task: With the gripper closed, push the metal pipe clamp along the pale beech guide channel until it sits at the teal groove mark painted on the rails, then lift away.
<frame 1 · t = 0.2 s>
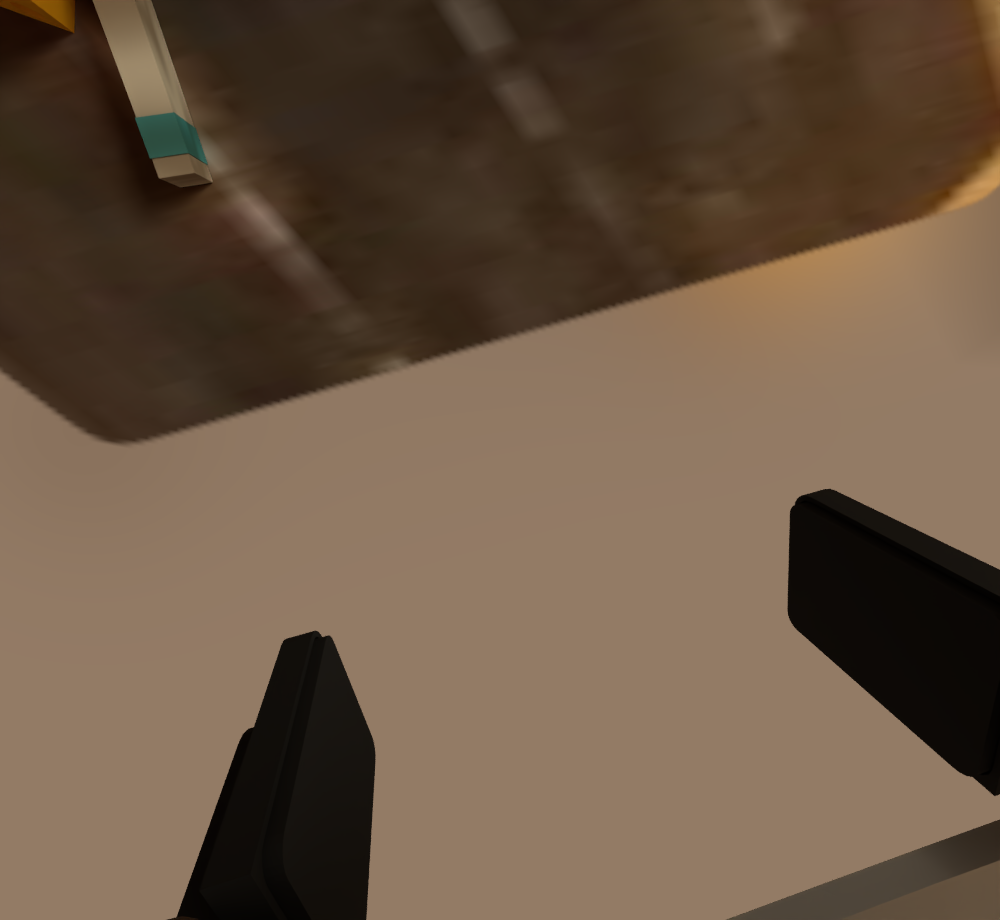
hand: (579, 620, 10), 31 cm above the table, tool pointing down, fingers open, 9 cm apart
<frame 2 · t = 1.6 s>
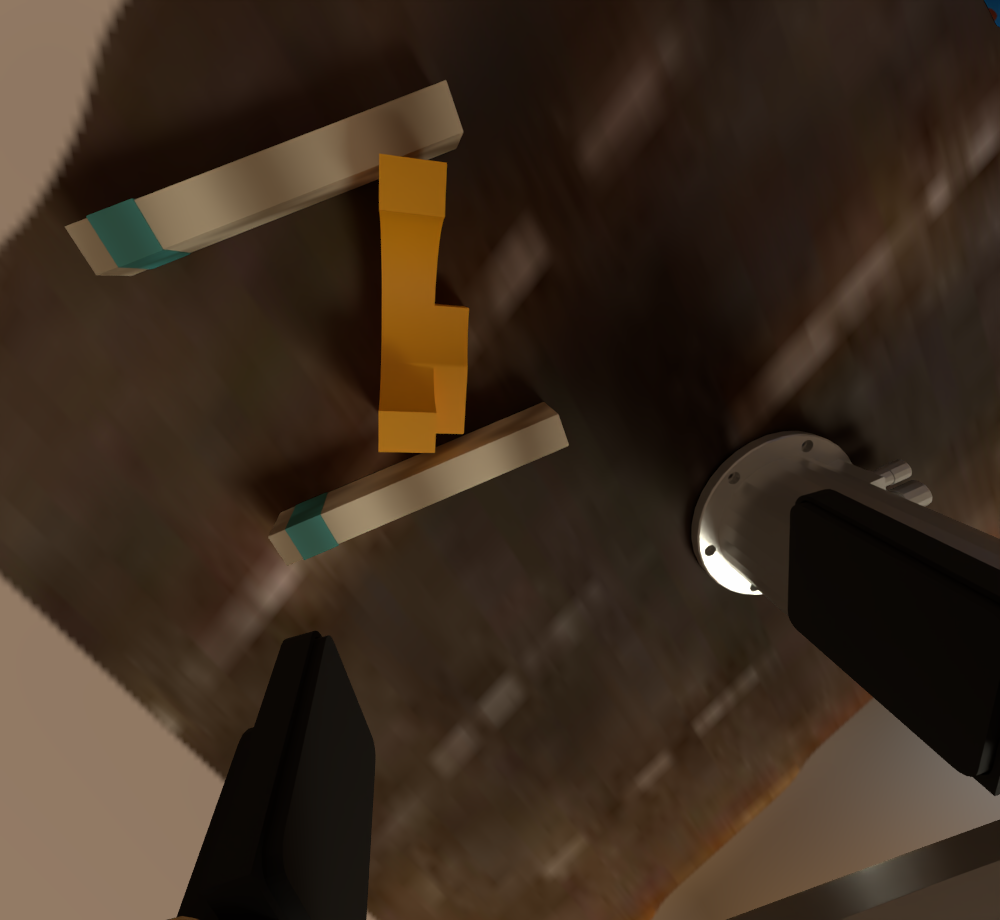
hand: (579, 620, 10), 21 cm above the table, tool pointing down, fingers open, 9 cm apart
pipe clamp: (423, 311, 27), on the table
channel: (360, 345, 27), on the table
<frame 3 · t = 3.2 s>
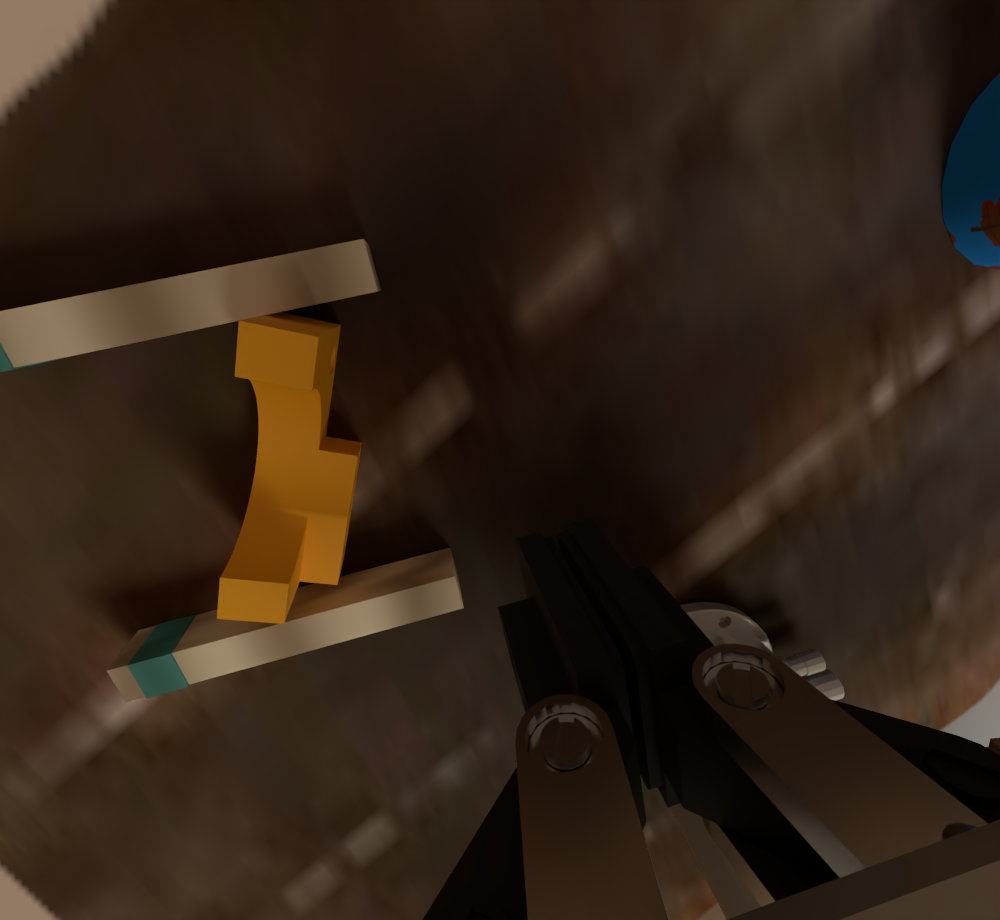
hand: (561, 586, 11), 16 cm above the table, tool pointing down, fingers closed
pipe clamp: (317, 441, 25), on the table
channel: (251, 471, 25), on the table
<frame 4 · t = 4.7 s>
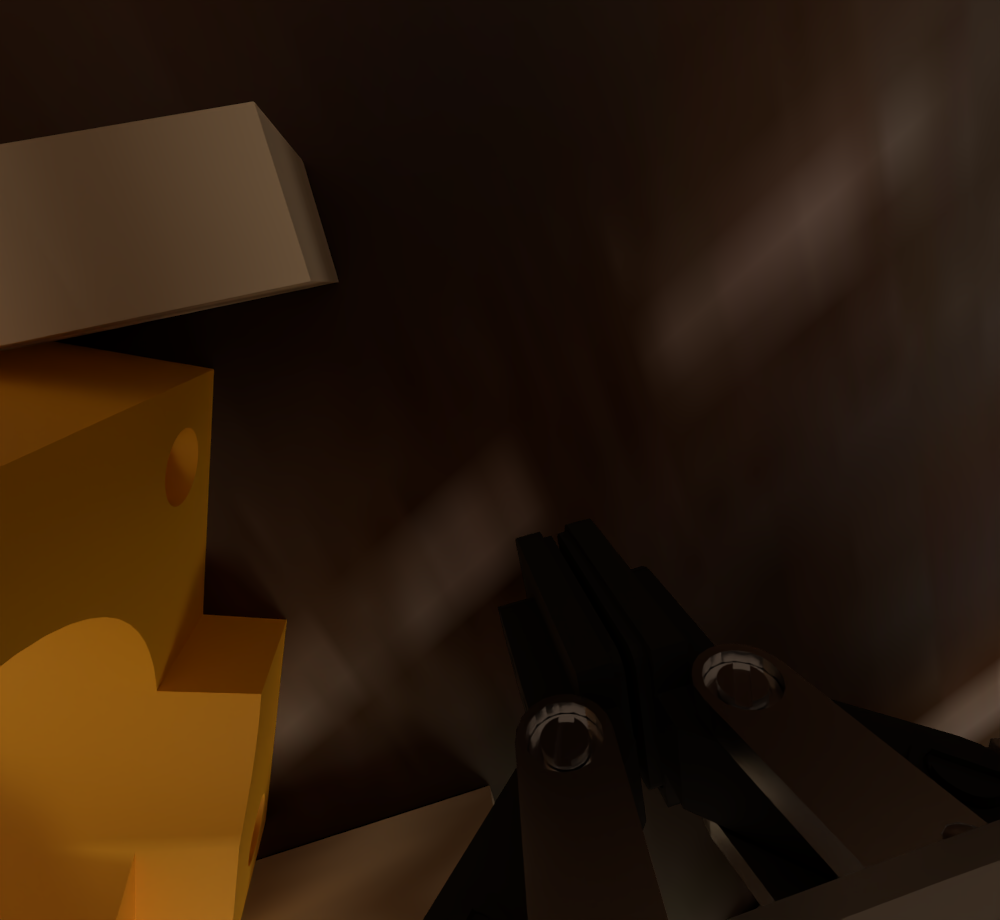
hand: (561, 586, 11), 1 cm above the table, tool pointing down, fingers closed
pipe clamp: (188, 619, 11), on the table
channel: (54, 692, 11), on the table
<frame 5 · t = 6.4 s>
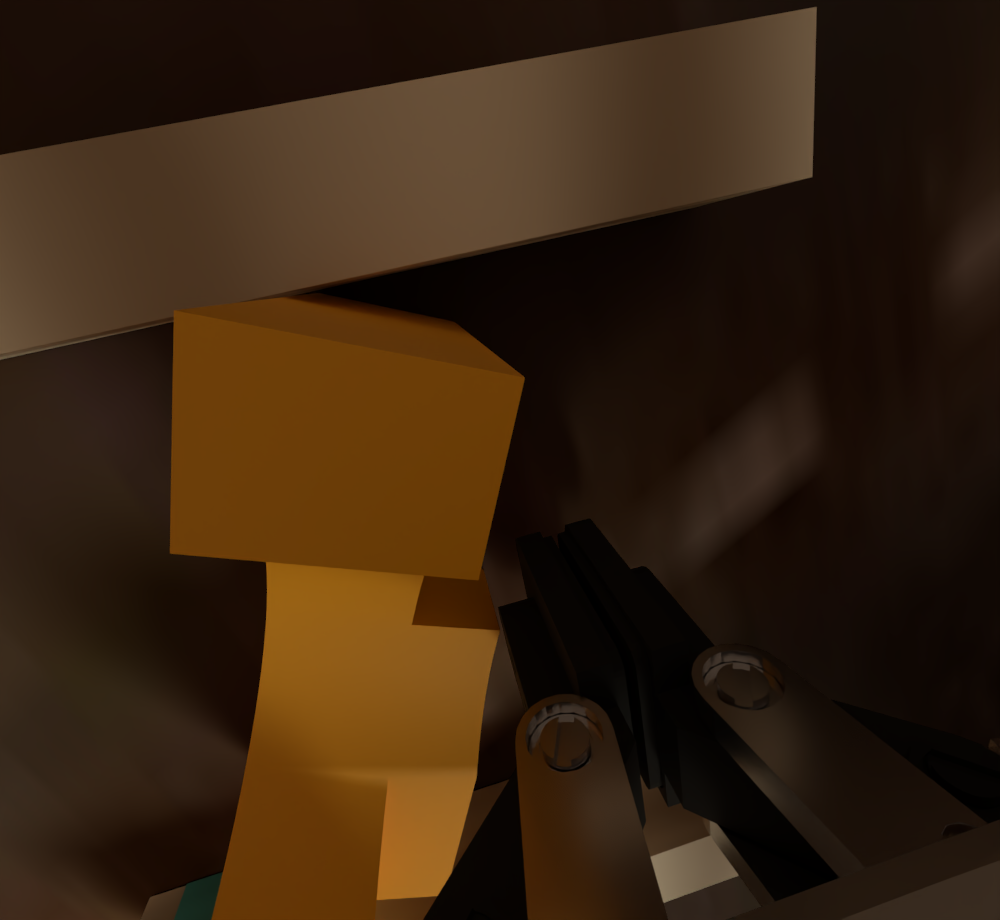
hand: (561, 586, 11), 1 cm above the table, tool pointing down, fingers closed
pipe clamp: (389, 569, 12), on the table
channel: (384, 602, 12), on the table
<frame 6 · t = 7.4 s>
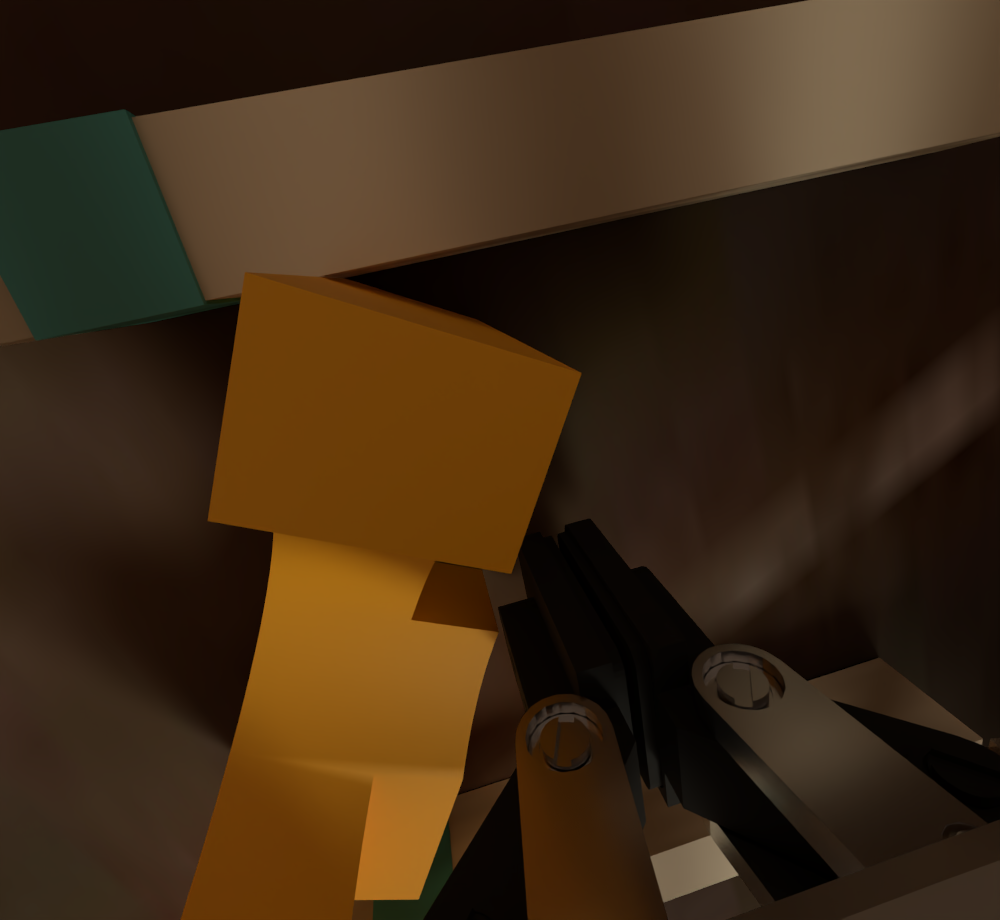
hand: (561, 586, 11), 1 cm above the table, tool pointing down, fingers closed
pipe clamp: (387, 563, 12), on the table, touching gripper
channel: (597, 540, 12), on the table
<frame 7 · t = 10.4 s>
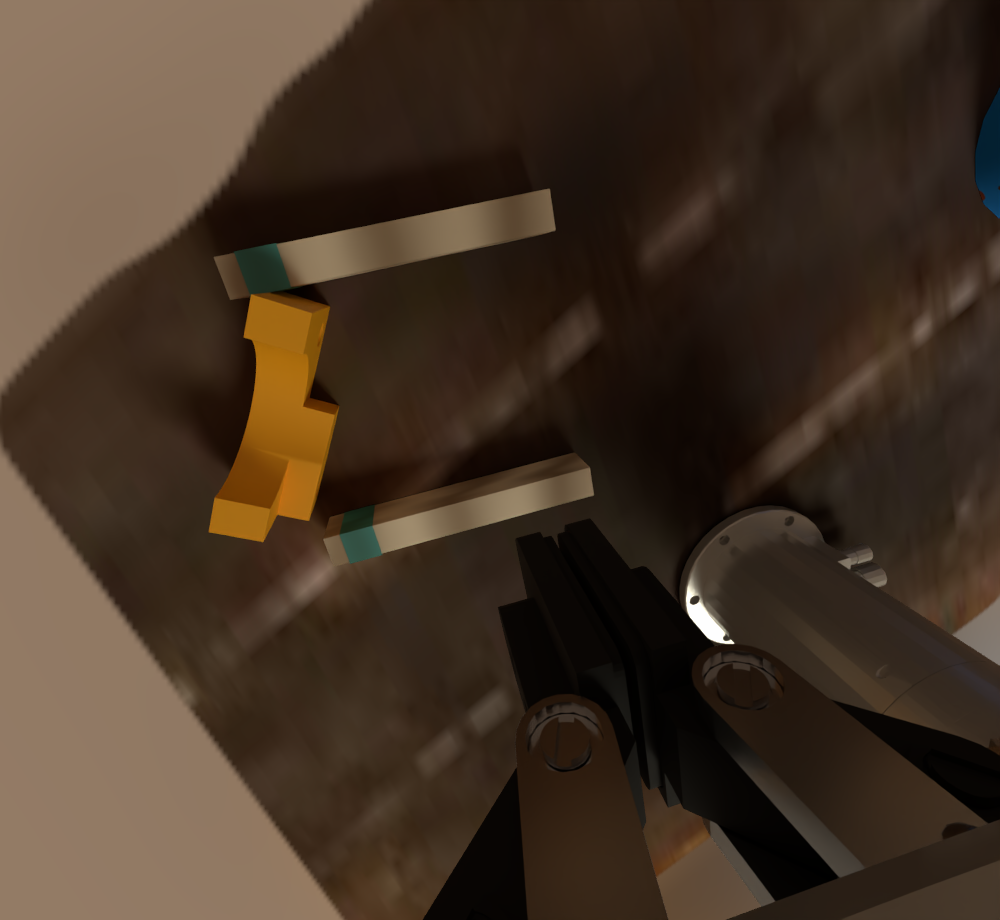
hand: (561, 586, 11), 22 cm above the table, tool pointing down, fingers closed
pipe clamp: (302, 401, 30), on the table, touching channel
channel: (429, 383, 31), on the table
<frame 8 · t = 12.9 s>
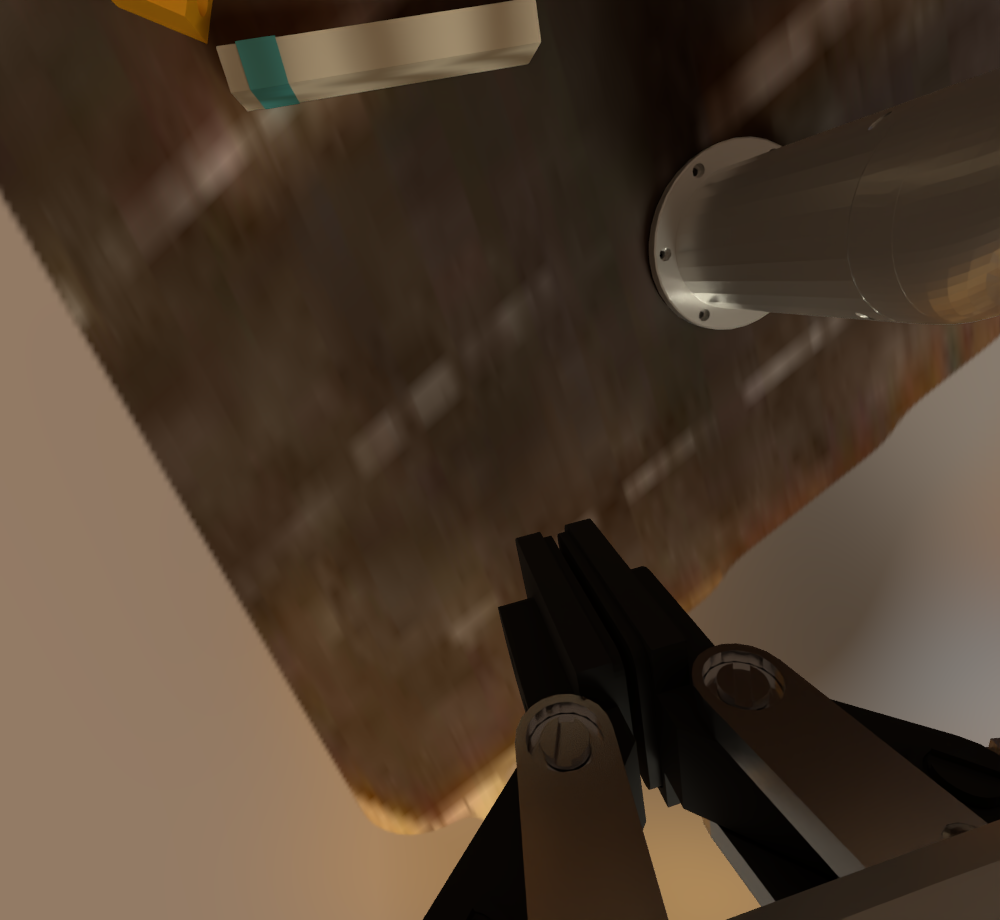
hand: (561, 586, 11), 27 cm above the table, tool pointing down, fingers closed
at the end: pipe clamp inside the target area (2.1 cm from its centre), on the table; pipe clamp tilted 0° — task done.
